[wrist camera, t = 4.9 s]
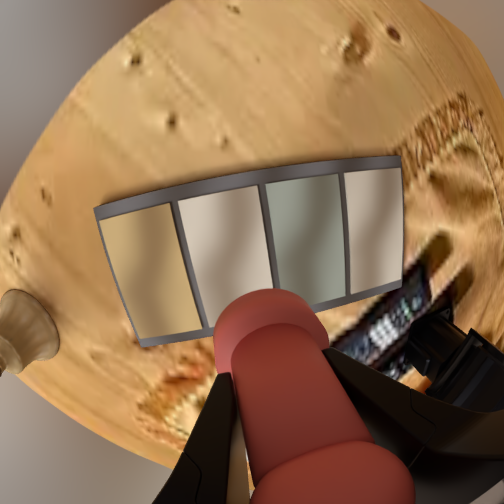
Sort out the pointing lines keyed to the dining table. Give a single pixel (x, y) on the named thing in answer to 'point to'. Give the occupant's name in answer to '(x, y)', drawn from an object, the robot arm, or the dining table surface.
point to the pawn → (299, 409)
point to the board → (255, 242)
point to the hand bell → (24, 332)
